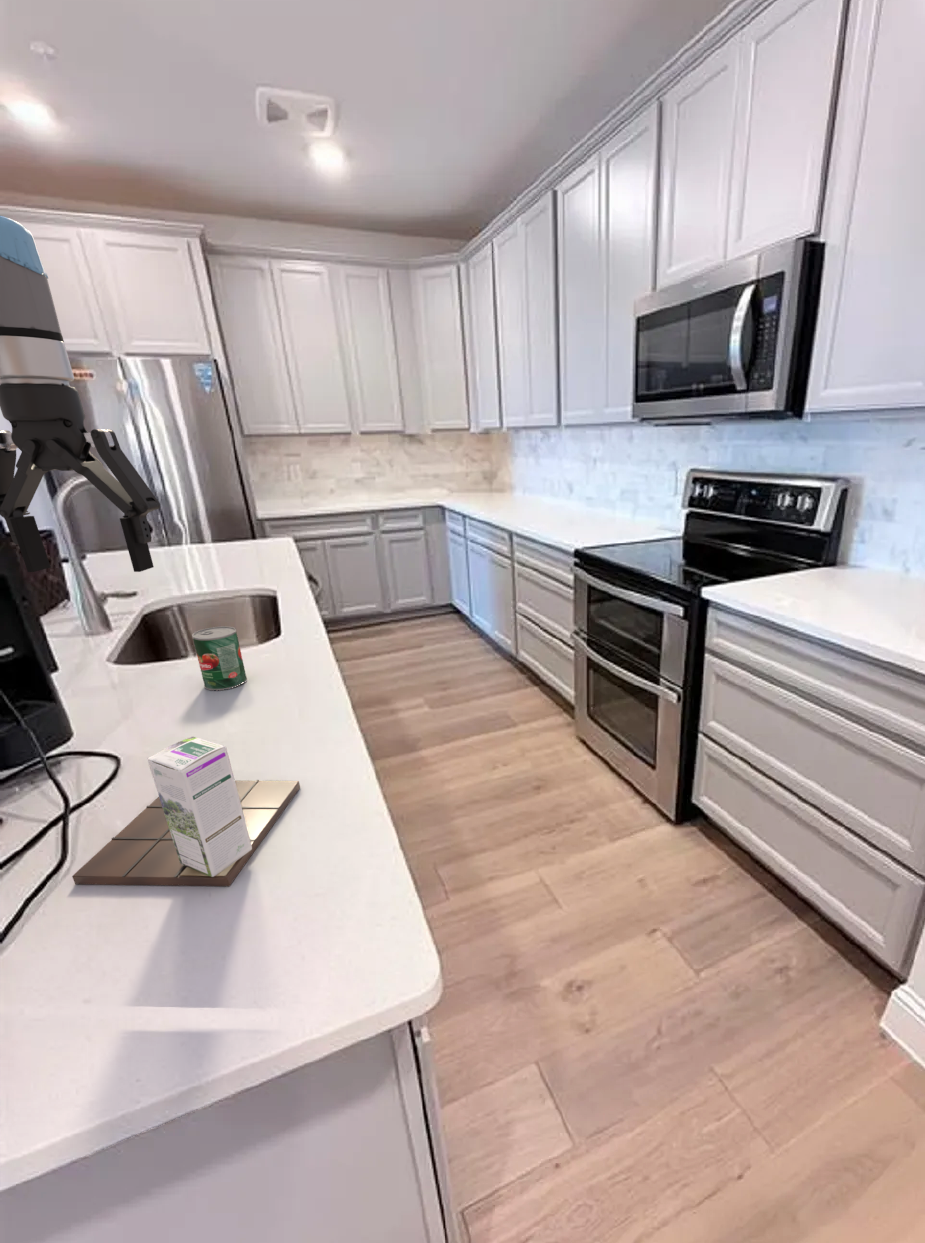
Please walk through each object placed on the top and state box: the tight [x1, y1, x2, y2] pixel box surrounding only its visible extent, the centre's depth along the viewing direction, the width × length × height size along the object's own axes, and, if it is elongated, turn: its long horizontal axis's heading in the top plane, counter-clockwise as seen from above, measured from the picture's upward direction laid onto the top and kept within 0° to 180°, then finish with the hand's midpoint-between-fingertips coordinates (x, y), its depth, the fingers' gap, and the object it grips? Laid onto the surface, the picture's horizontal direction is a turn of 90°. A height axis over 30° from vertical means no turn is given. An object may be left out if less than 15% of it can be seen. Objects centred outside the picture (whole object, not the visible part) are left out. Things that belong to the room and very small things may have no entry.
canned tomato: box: [191, 625, 248, 691], centre depth 119 cm, size 8×8×11 cm
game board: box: [71, 779, 301, 887], centre depth 76 cm, size 18×20×1 cm
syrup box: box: [147, 736, 252, 877], centre depth 67 cm, size 6×6×14 cm
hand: (91, 570), depth 75 cm, fingers open, 13 cm apart
